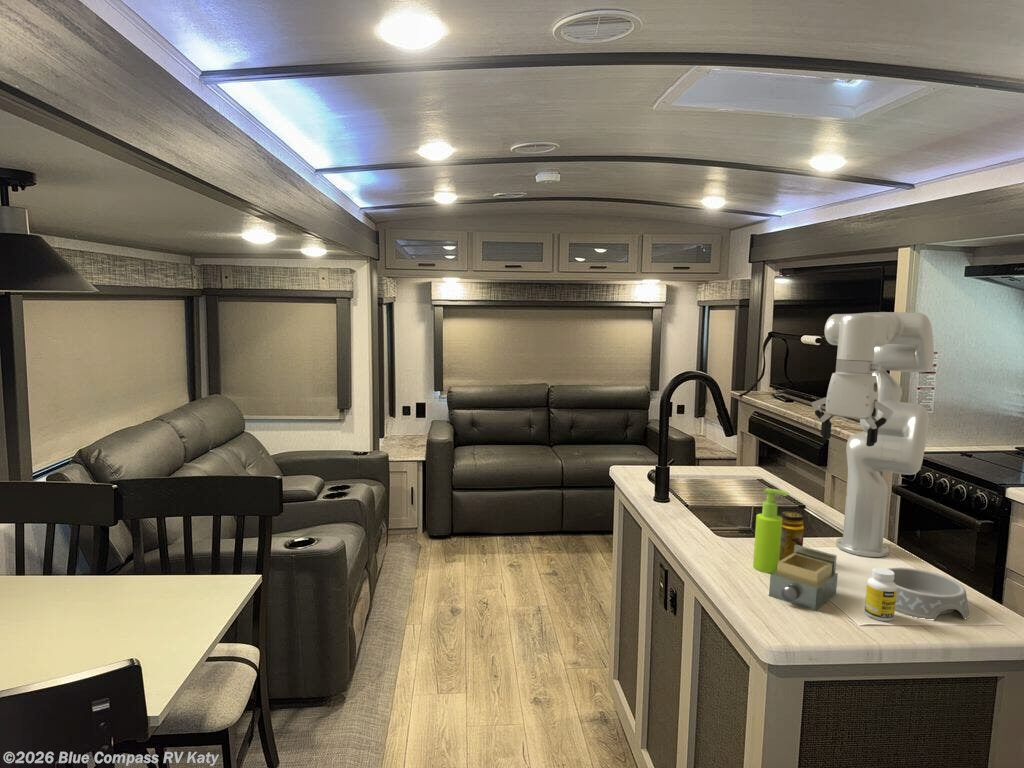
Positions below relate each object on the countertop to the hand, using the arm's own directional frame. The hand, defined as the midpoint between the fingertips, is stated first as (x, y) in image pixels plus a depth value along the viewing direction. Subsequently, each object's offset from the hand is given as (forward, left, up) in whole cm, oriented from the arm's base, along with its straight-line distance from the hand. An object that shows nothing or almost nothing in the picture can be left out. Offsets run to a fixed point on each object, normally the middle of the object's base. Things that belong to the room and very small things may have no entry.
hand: (847, 442), depth 150 cm
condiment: (-5, -14, -34) cm, 37 cm away
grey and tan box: (+14, -2, -33) cm, 36 cm away
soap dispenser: (+5, -14, -34) cm, 37 cm away
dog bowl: (-2, +17, -34) cm, 38 cm away
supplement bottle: (+12, +13, -34) cm, 38 cm away
